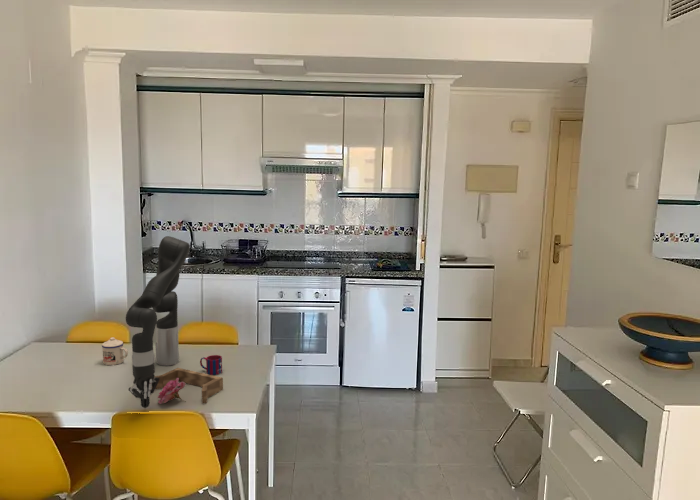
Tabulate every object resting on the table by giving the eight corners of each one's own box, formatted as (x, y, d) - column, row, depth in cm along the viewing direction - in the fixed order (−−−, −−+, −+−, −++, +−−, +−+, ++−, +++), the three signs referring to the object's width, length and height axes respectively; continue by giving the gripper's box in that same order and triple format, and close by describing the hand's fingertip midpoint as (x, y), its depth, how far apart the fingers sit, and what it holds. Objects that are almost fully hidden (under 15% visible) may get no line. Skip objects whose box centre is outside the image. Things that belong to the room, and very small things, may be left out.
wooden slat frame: (147, 389, 214) (147, 377, 213) (173, 377, 227) (172, 366, 226) (204, 404, 202) (204, 391, 201) (228, 390, 214) (228, 378, 213)
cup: (216, 376, 229) (216, 361, 228) (197, 372, 233) (196, 358, 232) (225, 370, 236) (224, 356, 235) (206, 367, 239) (205, 353, 238)
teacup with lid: (98, 364, 241) (96, 340, 239) (111, 358, 250) (110, 334, 248) (121, 367, 238) (120, 342, 236) (134, 360, 247) (132, 336, 245)
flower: (155, 412, 201) (149, 387, 204) (179, 407, 208) (173, 382, 211) (167, 403, 194) (161, 377, 197) (192, 398, 201) (186, 372, 204)
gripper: (149, 354, 199) (151, 398, 202) (121, 365, 188) (123, 411, 190) (164, 357, 196) (166, 402, 199) (136, 369, 184) (138, 416, 187)
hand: (145, 406), depth 195 cm, fingers closed
